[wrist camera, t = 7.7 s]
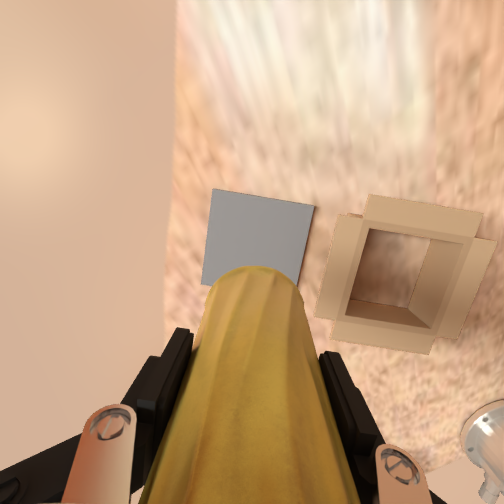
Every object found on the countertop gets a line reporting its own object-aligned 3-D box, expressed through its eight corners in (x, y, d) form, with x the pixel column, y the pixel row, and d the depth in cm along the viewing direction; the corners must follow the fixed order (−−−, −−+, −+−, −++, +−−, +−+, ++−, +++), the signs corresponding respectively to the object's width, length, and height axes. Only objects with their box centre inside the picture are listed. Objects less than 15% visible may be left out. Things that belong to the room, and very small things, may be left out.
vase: (317, 333, 17) (560, 957, 3) (230, 365, 18) (140, 983, 4) (281, 248, 16) (443, 720, 2) (188, 286, 17) (-158, 824, 3)
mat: (293, 297, 35) (293, 299, 35) (201, 282, 35) (200, 284, 34) (313, 205, 32) (314, 205, 31) (213, 188, 32) (212, 188, 31)
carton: (423, 334, 36) (449, 358, 31) (302, 315, 36) (309, 336, 31) (469, 211, 32) (507, 217, 27) (332, 188, 31) (345, 189, 26)
